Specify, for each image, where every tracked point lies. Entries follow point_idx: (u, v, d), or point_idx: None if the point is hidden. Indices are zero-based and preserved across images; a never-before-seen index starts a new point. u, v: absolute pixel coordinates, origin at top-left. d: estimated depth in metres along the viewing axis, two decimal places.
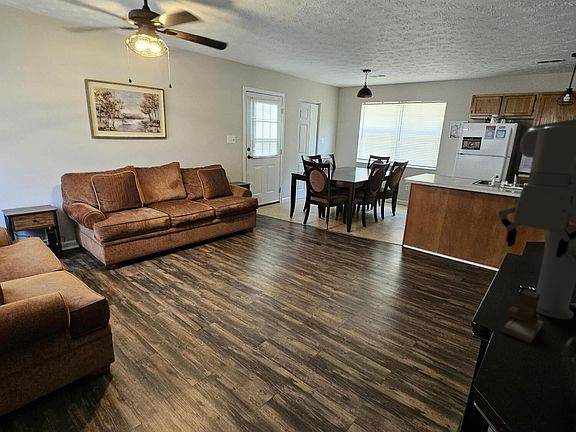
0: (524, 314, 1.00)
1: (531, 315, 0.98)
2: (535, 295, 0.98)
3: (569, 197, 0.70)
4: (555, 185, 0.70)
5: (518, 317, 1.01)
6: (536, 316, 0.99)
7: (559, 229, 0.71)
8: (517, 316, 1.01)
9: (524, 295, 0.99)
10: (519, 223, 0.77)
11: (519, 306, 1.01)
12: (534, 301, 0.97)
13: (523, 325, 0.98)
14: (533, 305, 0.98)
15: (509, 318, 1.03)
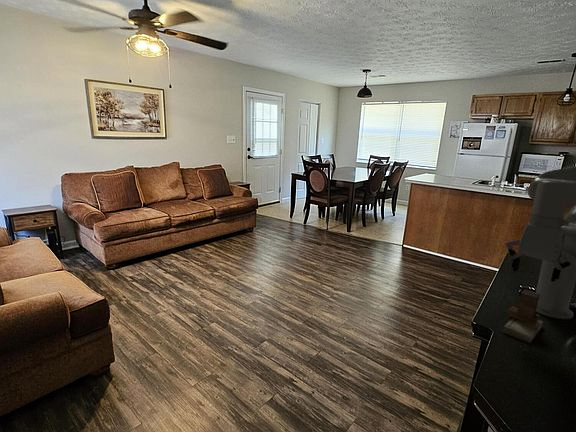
0: (524, 314, 1.00)
1: (531, 315, 0.98)
2: (535, 295, 0.98)
3: (561, 236, 0.91)
4: (550, 226, 0.91)
5: (518, 317, 1.01)
6: (536, 316, 0.99)
7: (553, 260, 0.92)
8: (517, 316, 1.01)
9: (524, 295, 0.99)
10: (522, 253, 0.98)
11: (519, 306, 1.01)
12: (534, 301, 0.97)
13: (523, 325, 0.98)
14: (533, 305, 0.98)
15: (509, 318, 1.03)
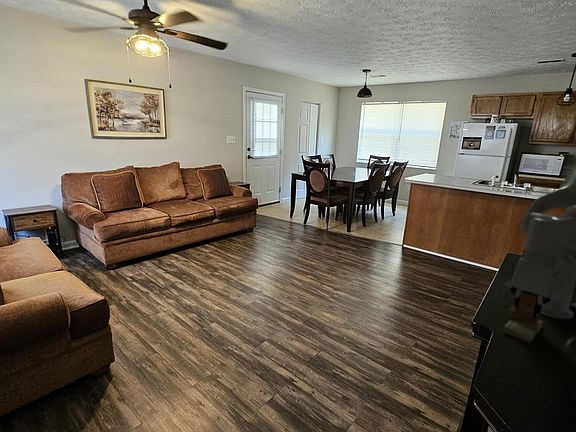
0: (524, 314, 1.00)
1: (531, 315, 0.98)
2: (535, 295, 0.98)
3: (553, 272, 0.94)
4: (542, 263, 0.94)
5: (518, 317, 1.01)
6: (536, 316, 0.99)
7: (546, 295, 0.95)
8: (517, 316, 1.01)
9: (524, 295, 0.99)
10: (516, 287, 1.01)
11: (519, 306, 1.01)
12: (534, 301, 0.97)
13: (523, 325, 0.98)
14: (533, 305, 0.98)
15: (509, 318, 1.03)
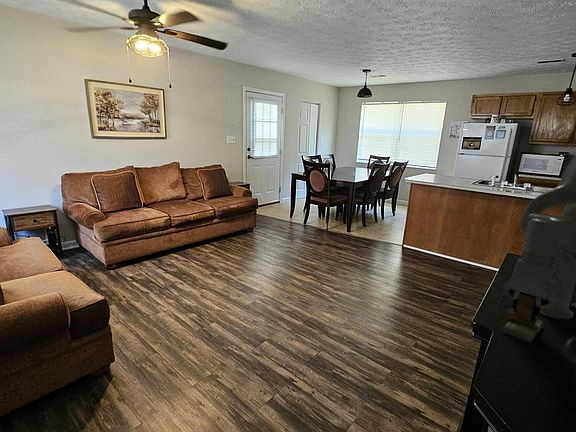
0: (522, 316, 0.99)
1: (529, 317, 0.97)
2: (533, 297, 0.97)
3: (551, 274, 0.92)
4: (541, 265, 0.92)
5: (516, 319, 1.00)
6: (534, 318, 0.98)
7: (544, 297, 0.94)
8: (515, 318, 1.00)
9: (522, 297, 0.98)
10: (514, 288, 0.99)
11: (517, 308, 0.99)
12: (532, 303, 0.96)
13: (523, 325, 0.98)
14: (531, 307, 0.96)
15: (507, 320, 1.02)
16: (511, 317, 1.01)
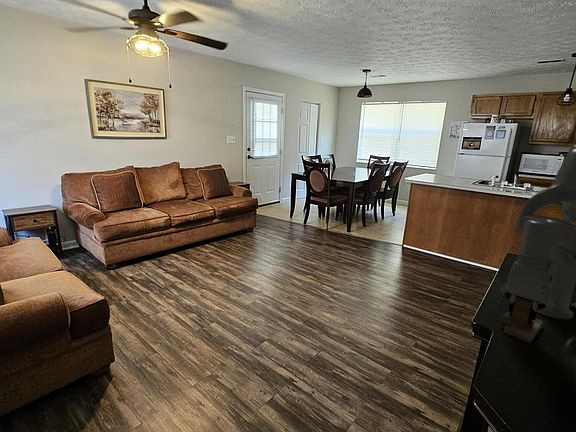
0: (518, 320, 0.96)
1: (526, 321, 0.95)
2: (530, 301, 0.94)
3: (548, 277, 0.90)
4: (537, 268, 0.90)
5: (512, 323, 0.97)
6: (531, 322, 0.95)
7: (541, 301, 0.91)
8: (511, 322, 0.97)
9: (518, 300, 0.95)
10: (510, 292, 0.97)
11: (513, 312, 0.97)
12: (529, 307, 0.94)
13: None
14: (528, 311, 0.94)
15: (503, 324, 0.99)
16: (507, 321, 0.98)
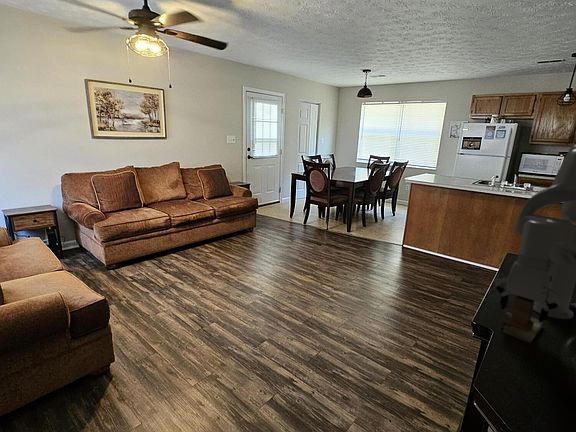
0: (518, 320, 0.96)
1: (526, 321, 0.95)
2: (530, 301, 0.94)
3: (548, 277, 0.90)
4: (537, 268, 0.90)
5: (512, 323, 0.97)
6: (531, 322, 0.95)
7: (541, 301, 0.91)
8: (511, 322, 0.97)
9: (518, 300, 0.95)
10: (510, 292, 0.97)
11: (513, 312, 0.97)
12: (529, 307, 0.94)
13: None
14: (528, 311, 0.94)
15: (503, 324, 0.99)
16: (507, 321, 0.98)
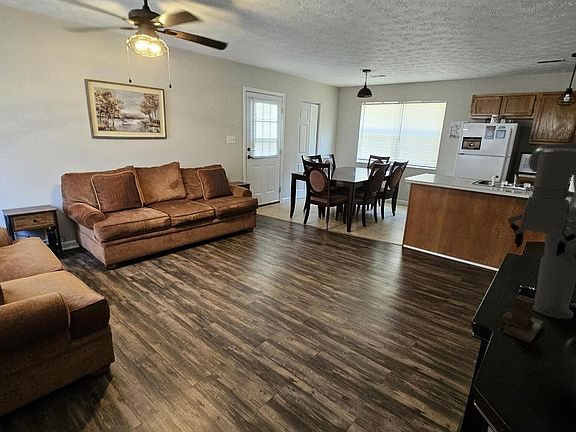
0: (518, 320, 0.96)
1: (526, 321, 0.95)
2: (530, 301, 0.94)
3: (566, 207, 0.87)
4: (554, 198, 0.87)
5: (512, 323, 0.97)
6: (531, 322, 0.95)
7: (558, 233, 0.88)
8: (511, 322, 0.97)
9: (518, 300, 0.95)
10: (525, 228, 0.94)
11: (513, 312, 0.97)
12: (529, 307, 0.94)
13: None
14: (528, 311, 0.94)
15: (503, 324, 0.99)
16: (507, 321, 0.98)
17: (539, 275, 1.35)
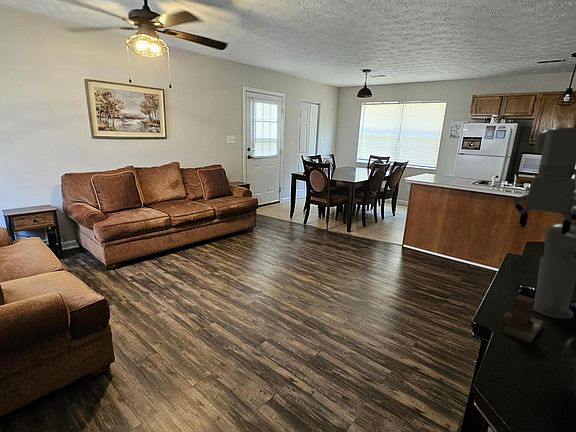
0: (518, 320, 0.96)
1: (526, 321, 0.95)
2: (530, 301, 0.94)
3: (572, 185, 0.87)
4: (560, 175, 0.87)
5: (512, 323, 0.97)
6: (531, 322, 0.95)
7: (563, 211, 0.88)
8: (511, 322, 0.97)
9: (518, 300, 0.95)
10: (530, 207, 0.94)
11: (513, 312, 0.97)
12: (529, 307, 0.94)
13: None
14: (528, 311, 0.94)
15: (503, 324, 0.99)
16: (507, 321, 0.98)
17: (539, 275, 1.35)
